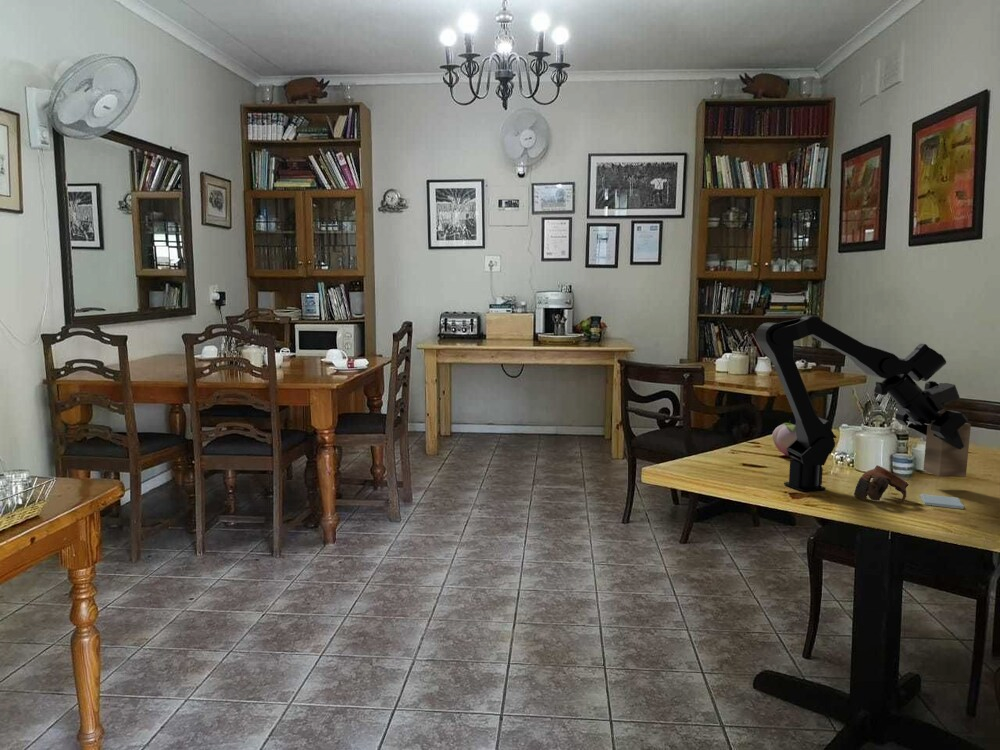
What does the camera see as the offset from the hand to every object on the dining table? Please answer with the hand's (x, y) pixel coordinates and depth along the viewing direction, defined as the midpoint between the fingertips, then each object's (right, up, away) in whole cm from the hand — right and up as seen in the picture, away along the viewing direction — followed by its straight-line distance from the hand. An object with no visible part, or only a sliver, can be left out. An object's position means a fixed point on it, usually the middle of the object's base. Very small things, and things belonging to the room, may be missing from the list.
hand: (952, 444), depth 164 cm
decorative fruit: (-24, -7, +33) cm, 41 cm away
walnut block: (-2, -7, +1) cm, 7 cm away
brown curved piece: (-21, -11, -8) cm, 25 cm away
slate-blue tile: (-9, -11, -10) cm, 17 cm away
